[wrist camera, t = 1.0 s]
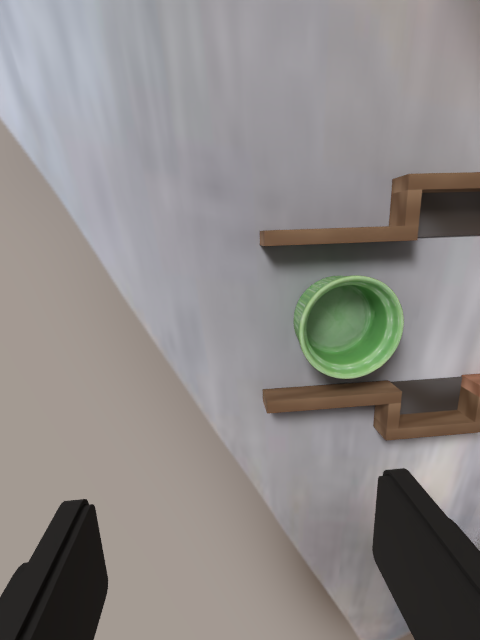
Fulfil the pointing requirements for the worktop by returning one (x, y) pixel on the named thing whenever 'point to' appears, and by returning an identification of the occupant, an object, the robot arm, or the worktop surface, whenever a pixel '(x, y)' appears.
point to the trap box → (416, 395)
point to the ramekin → (348, 325)
